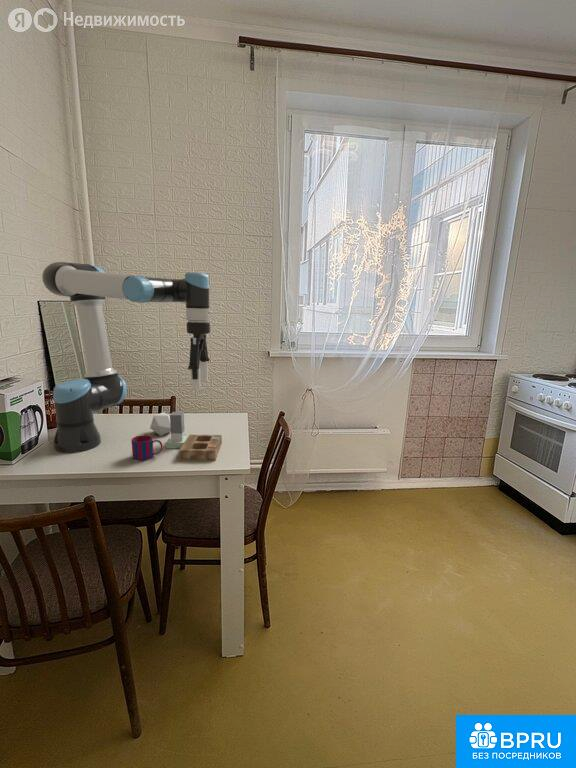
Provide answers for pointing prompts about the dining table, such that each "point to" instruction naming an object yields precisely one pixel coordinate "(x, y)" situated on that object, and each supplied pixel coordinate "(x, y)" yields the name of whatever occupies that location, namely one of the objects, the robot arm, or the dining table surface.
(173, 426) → the plug
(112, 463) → the dining table surface
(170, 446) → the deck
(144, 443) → the mug
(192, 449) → the socket block
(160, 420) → the die
